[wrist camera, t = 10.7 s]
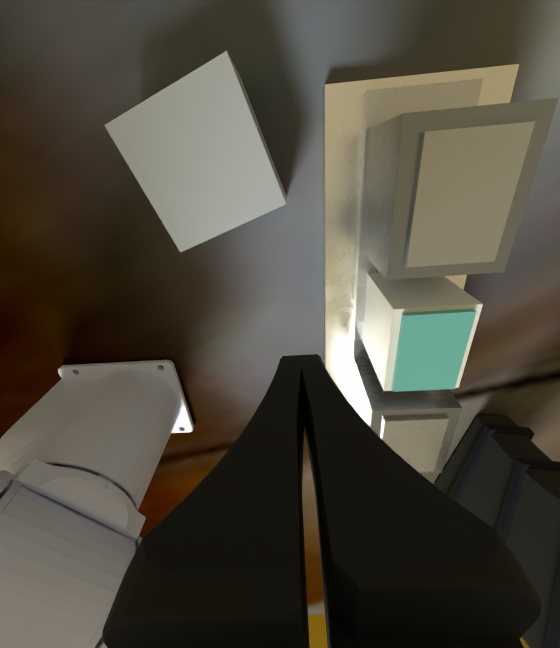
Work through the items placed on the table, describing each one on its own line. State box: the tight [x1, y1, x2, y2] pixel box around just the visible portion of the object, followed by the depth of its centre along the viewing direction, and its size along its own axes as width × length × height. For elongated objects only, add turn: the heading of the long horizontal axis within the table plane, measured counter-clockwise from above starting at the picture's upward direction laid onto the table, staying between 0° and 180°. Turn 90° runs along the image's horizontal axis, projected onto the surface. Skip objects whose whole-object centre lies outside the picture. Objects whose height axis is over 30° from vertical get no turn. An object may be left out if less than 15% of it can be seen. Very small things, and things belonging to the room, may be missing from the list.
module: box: [363, 273, 483, 392], centre depth 17 cm, size 4×5×5 cm
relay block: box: [104, 51, 286, 253], centre depth 15 cm, size 6×6×4 cm
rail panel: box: [323, 64, 558, 474], centre depth 17 cm, size 9×24×7 cm, turn 5°
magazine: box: [434, 414, 560, 648], centre depth 23 cm, size 4×13×15 cm, turn 174°
